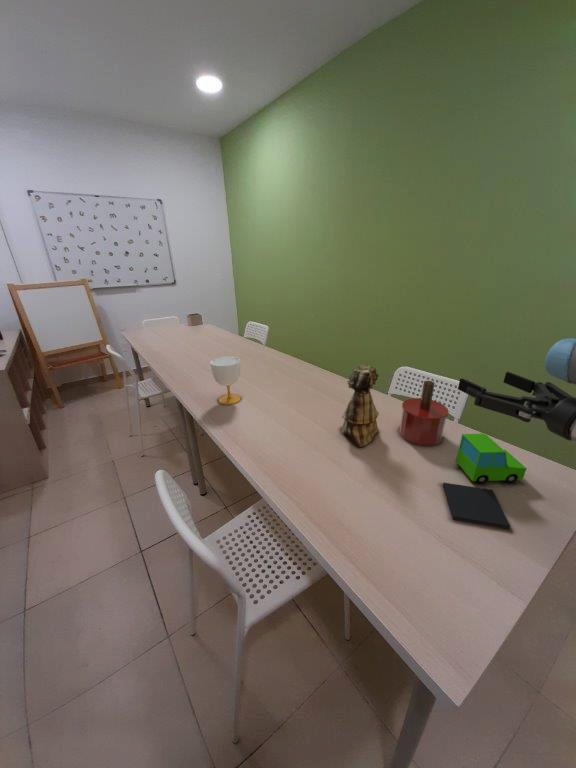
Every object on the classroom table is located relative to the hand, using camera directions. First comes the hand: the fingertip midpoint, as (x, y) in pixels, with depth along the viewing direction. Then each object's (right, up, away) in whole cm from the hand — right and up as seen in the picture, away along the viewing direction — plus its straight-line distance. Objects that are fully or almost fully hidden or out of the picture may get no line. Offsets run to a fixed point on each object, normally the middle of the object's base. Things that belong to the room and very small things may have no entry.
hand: (483, 380), depth 72 cm
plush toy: (-24, -18, +27) cm, 41 cm away
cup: (-72, -8, +54) cm, 90 cm away
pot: (-4, -18, +26) cm, 32 cm away
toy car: (+6, -25, +8) cm, 27 cm away
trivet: (-4, -29, -2) cm, 30 cm away
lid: (-4, -9, +22) cm, 24 cm away
